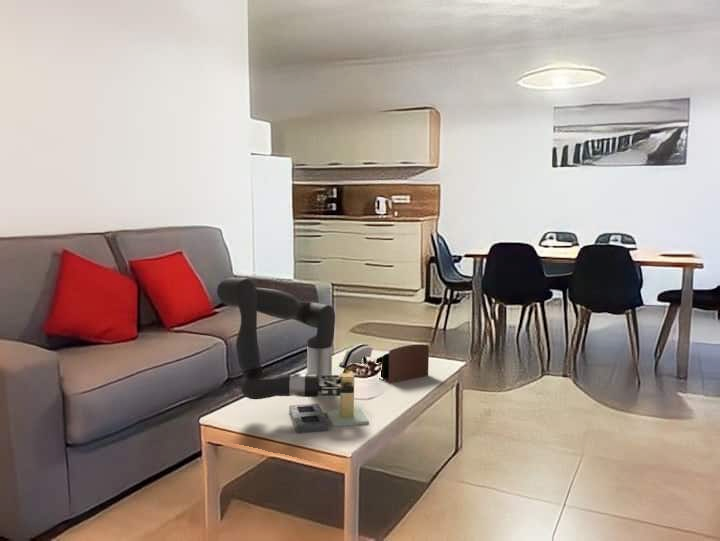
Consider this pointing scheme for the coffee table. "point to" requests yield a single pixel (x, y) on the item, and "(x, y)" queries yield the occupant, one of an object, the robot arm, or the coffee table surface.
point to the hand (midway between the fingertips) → (353, 385)
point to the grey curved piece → (356, 354)
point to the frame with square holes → (308, 418)
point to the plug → (347, 396)
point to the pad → (338, 421)
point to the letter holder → (405, 363)
